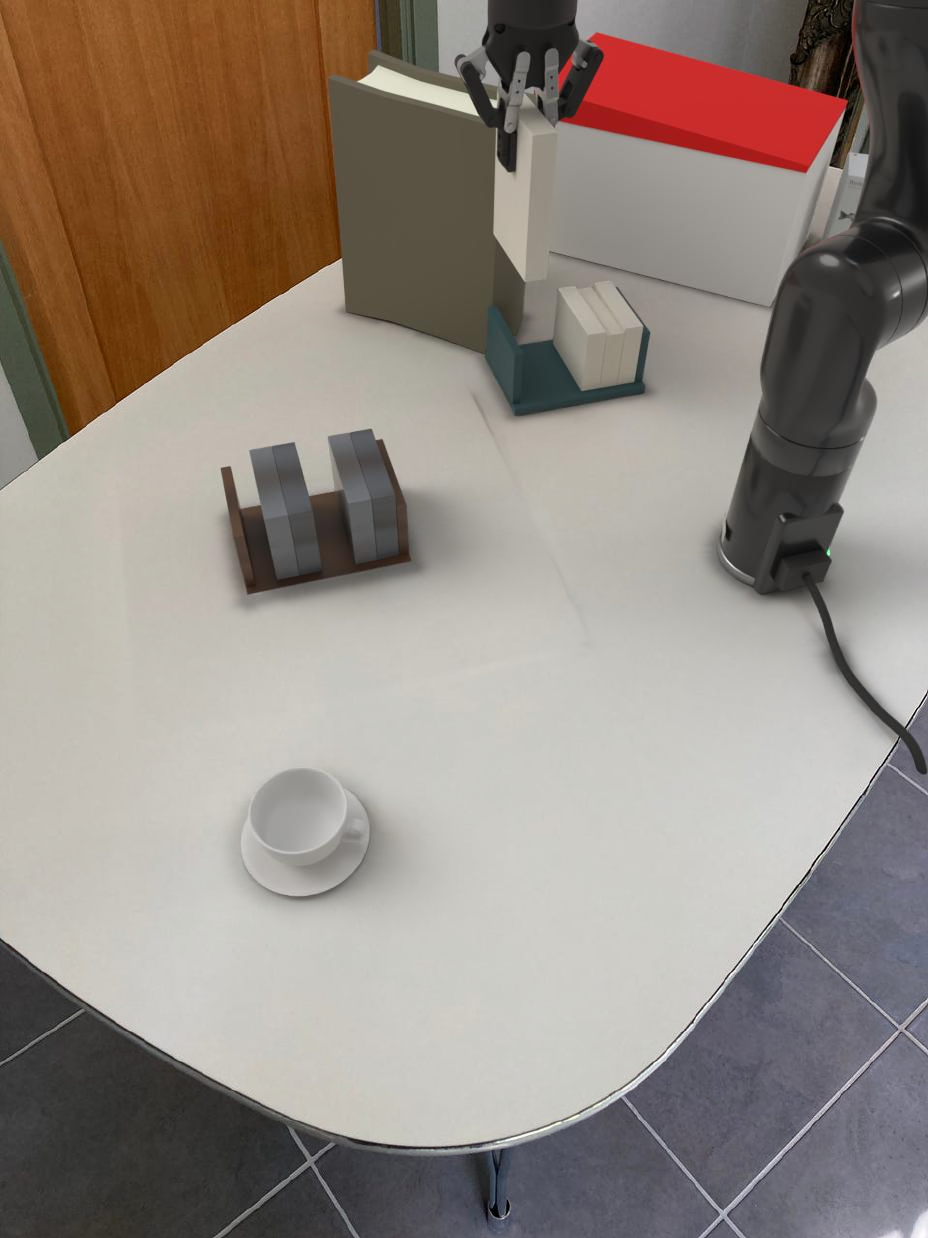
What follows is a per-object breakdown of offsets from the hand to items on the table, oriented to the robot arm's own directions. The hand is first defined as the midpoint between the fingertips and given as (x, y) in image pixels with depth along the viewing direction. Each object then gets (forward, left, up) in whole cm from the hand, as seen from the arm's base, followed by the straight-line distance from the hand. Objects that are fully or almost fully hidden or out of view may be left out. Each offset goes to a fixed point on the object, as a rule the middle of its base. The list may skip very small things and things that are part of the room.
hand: (524, 165), depth 90 cm
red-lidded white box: (+29, -32, -27) cm, 51 cm away
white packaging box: (+18, -54, -27) cm, 63 cm away
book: (+19, +4, -27) cm, 34 cm away
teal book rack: (+3, -7, -27) cm, 28 cm away
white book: (0, 0, -9) cm, 9 cm away
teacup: (-49, +33, -27) cm, 65 cm away
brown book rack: (-17, +26, -27) cm, 41 cm away
